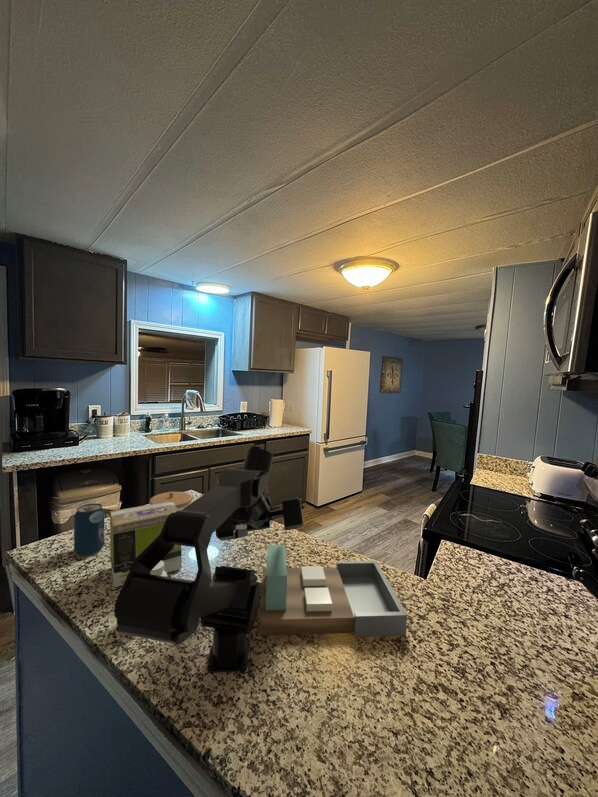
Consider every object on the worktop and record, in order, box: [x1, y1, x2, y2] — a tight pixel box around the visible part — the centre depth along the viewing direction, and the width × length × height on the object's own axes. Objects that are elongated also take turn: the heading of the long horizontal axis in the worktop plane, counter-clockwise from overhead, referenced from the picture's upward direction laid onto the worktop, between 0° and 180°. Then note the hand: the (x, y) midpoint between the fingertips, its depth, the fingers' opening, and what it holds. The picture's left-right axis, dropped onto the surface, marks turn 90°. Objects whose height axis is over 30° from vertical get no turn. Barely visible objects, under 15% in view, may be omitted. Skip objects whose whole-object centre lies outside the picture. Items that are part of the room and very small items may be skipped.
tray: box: [336, 560, 408, 638], centre depth 73 cm, size 19×10×4 cm, turn 4°
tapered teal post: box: [266, 544, 288, 610], centre depth 71 cm, size 12×4×7 cm, turn 4°
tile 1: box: [300, 565, 326, 586], centre depth 76 cm, size 5×5×2 cm
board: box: [259, 567, 354, 636], centre depth 72 cm, size 17×18×3 cm
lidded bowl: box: [149, 491, 193, 510], centre depth 106 cm, size 13×13×11 cm
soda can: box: [73, 503, 105, 557], centre depth 90 cm, size 7×7×12 cm
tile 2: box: [304, 588, 332, 611], centre depth 68 cm, size 5×5×2 cm
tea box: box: [109, 501, 183, 588], centre depth 82 cm, size 15×10×15 cm, turn 123°
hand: (266, 530), depth 79 cm, fingers open, 9 cm apart
